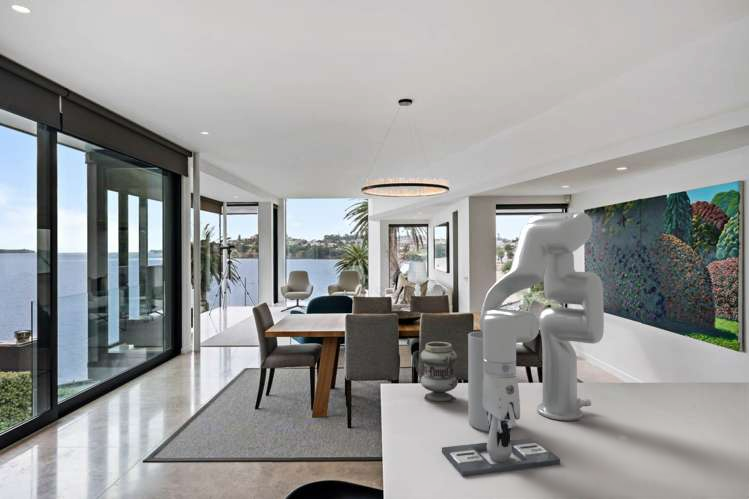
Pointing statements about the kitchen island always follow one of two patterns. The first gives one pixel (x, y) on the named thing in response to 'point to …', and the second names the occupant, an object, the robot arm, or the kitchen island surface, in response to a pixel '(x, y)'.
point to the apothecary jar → (439, 372)
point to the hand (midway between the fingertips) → (499, 444)
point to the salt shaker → (496, 451)
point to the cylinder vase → (476, 382)
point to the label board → (475, 464)
